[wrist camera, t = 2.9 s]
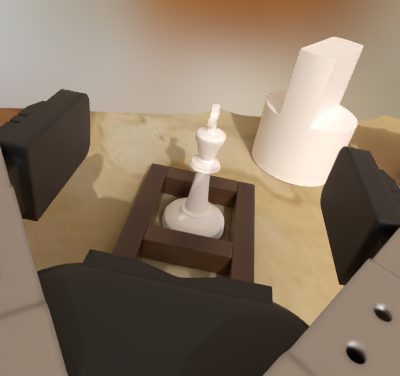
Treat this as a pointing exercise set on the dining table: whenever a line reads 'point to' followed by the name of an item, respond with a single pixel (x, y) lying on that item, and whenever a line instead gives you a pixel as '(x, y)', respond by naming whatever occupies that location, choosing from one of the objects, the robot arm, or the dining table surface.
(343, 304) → the robot arm
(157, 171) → the rack
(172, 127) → the dining table surface
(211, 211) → the chess piece
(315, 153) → the base with upright slab
